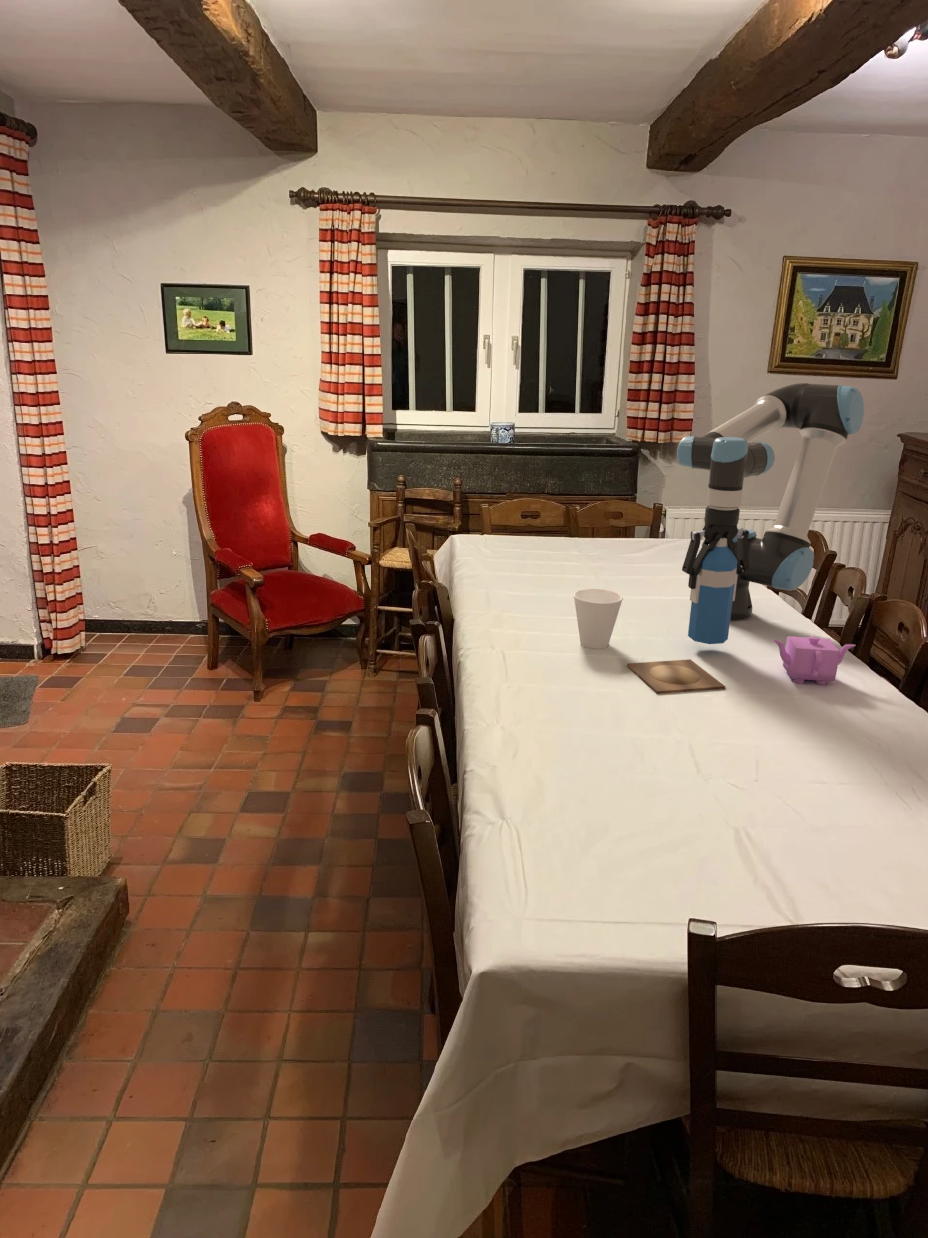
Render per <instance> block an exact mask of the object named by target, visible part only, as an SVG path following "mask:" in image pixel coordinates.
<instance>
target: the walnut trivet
mask: <svg viewBox="0 0 928 1238" xmlns="http://www.w3.org/2000/svg"><path fill="white" fill-rule="evenodd" d="M626 668H628V669H629V670H630V671H631V672H632V673H633V674H634V675H636V676H637V677H638V678H639V679H640V680H641V681H642V682H643V683H644V684H645V685H646V686H647V687H649V688H650V689H651V690H652V691H653V692H654V693H655V694H656V695H660V694H661V695H662V694H672V693H673V694H675V693H676V694H677V693H687V692H688V693H689V692H702V691H715V690H725V689H726V685H724V684H723V683H722V682H720V681H719V680H718V679H717V678H716V677H714V676H713V675H711V674H710V673H709V672H707V671H706V670H705V669H703V667H701V666H700V665H698V664H697V663H696V662H695V661H693V660H692V659H690V658H689V659H677V660H676V659H675V660H662V661H661V660H660V661H647V662H644V661H642V662H631V663H630V662H629V663H626Z"/></svg>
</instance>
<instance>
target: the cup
mask: <svg viewBox="0 0 928 1238" xmlns="http://www.w3.org/2000/svg"><path fill="white" fill-rule="evenodd" d="M573 599H574V605H575V614H576V621H577V627H578V634H579V642H580V645H581V646H583V647H584V648H588V649H592V650H598V649H599V650H601V649H602V650H603V649H605V648H608V647H609V644H610V642H611V641H610V640H611V637H612V635H613V631H614V628H615V625H616V621H617V618H618V616H619V612H620V608H621V605H622V602H623V600H624V598H623V596H622V594H620V593H618V592H617V591H616V592H615V591H613V590H608V589H601V588H586V589H579V590H577V591H575V592H574V593H573Z"/></svg>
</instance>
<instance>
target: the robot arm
mask: <svg viewBox="0 0 928 1238" xmlns="http://www.w3.org/2000/svg"><path fill="white" fill-rule="evenodd" d="M864 413H865V405H864V398H863V395H862V392H861V390H859V388H857V387H855V386H848V385H844V384H838V385H837V384H820V383H809V382H808V383H807V382H798V383H793V384H789V385H786V386H783V387H780V388H777V389H775V390H772V391H770V392H768V393H766V394H764V395H763V396H760V397H759V398H758V399H757V400H756V401H755V402H754V403H753V406H751V407H750V408H748V409H746V410H744V411H743V412H741V413H739V414H738V415H736V416H734V417H732V418H730V419H729V420H728V421H725V422H724V423H723V424H720V425H719V426H717V427H715V428H713V429H712V430H710V431H709V432H707V433H706V434H704V435H702V436H696V435H693V436H691V435H688V436H684V437H683V438H682V439H681V440H680V441H679V443H678V447H677V450H676V454H677V455H676V456H677V457H676V458H677V459H676V460H677V462H678V463H679V464H680V465H681V466H683V467H686V468H691V469H692V470H694V469H696V470H704V471H709V480H708V485H707V486H708V487H707V496H706V505H707V506H705V512H704V526H703V528H702V530H697V531H696V530H692V531H690V541H689V545H688V548H687V551H686V554H685V558H684V561H683V564H682V567H681V571H682V572H683V573H685V574H687V575H688V577H689V578H688V588H689V589H690V593H689V594H690V595H689V601H690V602H694V603H698V599H699V590H700V581H701V576H699V575H698V574H699V572H700V570H701V569H702V562H703V560H704V559H705V557H706V556H707V555H708V553H709V552H710V551H713V550H714V548H715V546H716V544H717V542H718V541H719V540H720V538H727V543H728V546H729V549H730V550H731V551H732V553H733V554H734V556H735V557H736V559H737V561H738V562H737V570H736V578H735V586H734V594H733V602H732V610H731V618H730V621H742V620H748V619H749V618H751V617H752V616H753V604H752V599H751V592H750V589H749V588H750V587H749V586H750V583H754V584H759V585H763V586H767V587H771V588H773V589H775V590H785V591H794V590H797V589H798V588H800V587H801V586H802V585H803V584H804V583H805V582H806V580H807V579H808V577H809V576H810V574H811V571H812V569H813V567H814V563H815V562H814V559H815V553H814V551H813V550H812V549H811V548H810V547H811V544H812V543H811V541H810V539H809V538H808V534H809V531H810V527H811V524H812V522H813V518H814V517H815V516H814V515H815V513H816V510H817V507H818V504H819V502H820V498H821V496H822V494H823V490H824V487H825V484H826V482H827V479H828V475H829V472H830V469H831V466H832V464H833V460H834V458H835V455H836V451H837V449H838V447H840V446H842V445H844V444H846V442H847V439H848V436H849V435H854V434H857V433H858V432H859V430H860V429H861V427H862V424H863V420H864V416H865V415H864ZM782 428H788V429H789V428H792V429H799V432H798V433H799V435H800V437H801V438H802V440H801V441H802V442H801V445H800V448H799V450H798V453H797V456H796V459H795V462H794V465H793V468H792V471H791V473H790V476H789V479H788V483H787V485H786V489H785V492H784V493H783V497H782V500H781V503H780V506H779V509H778V512H777V514H776V517H775V520H774V523H773V526H772V527H770V528H768V529H766V530H765V532H764V533H763V534H764V535H762V536H763V537H762V538H758V537H757V536H758V535H757V532H756V530H754V529H746V528H742V527H741V528H738V524H739V519H740V514H741V513H740V511H741V510H740V508H739V507H741V505H742V496H743V486H744V478H748V477H753V476H755V477H756V476H760V475H762V474H765V473H767V472H768V471H770V470H771V469H772V467H773V466H774V463H775V452H774V450H773V448H772V447H771V446H770V445H769V444H768V443H766V442H762V441H759V442H758V441H754V440H756V439H758V438H760V437H761V436H763V435H764V434H765V433H768V432H774V431H777V430H780V429H782ZM753 441H754V442H753ZM703 537H704V540H703ZM702 540H703V542H702V544H701V541H702ZM700 545H701V548H700ZM708 545H709V546H708ZM699 549H700V550H699Z"/></svg>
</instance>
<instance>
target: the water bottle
mask: <svg viewBox="0 0 928 1238" xmlns="http://www.w3.org/2000/svg"><path fill="white" fill-rule="evenodd" d="M708 546H709V544H708ZM737 562H738V561H737V559H736V557H735V556H734V554H733V553H732V551H731V550H730V549H729V546H728V543H727V538H720V540H719V541H718V542H717V544H716V546H715V548H714V550H713V551H710V552H709V553H708V555H707V556H706V557H705V559H704V560H703V562H702V569H701V570H700V572H699V574H698V575H699V576H701V581H700V590H699V599H698V603H694V602H692V601H690V602H691V604H690V613H689V620H688V621H689V622H688V632H687V637H689V638H690V639H691V640H692V641H694V642H697V643H701V644H707V645H719V644H721V645H722V644H724V643H726V641H728V640H729V631H730V624H731V620H730V618H731V610H732V602H733V594H734V586H735V578H736V570H737Z"/></svg>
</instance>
